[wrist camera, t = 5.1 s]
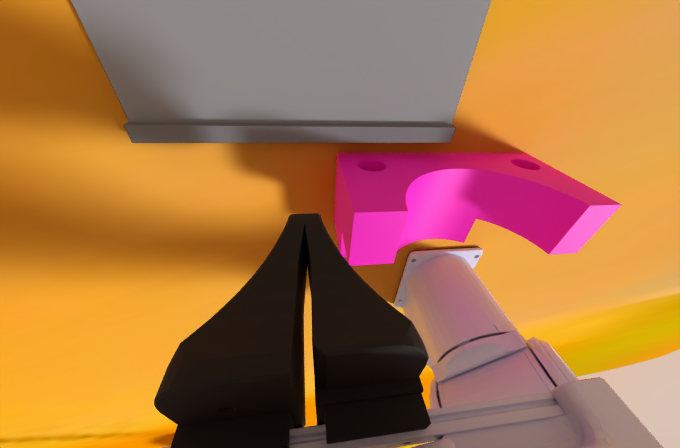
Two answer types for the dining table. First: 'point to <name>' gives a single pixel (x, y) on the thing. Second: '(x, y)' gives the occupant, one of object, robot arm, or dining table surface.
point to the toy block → (458, 202)
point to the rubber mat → (286, 68)
